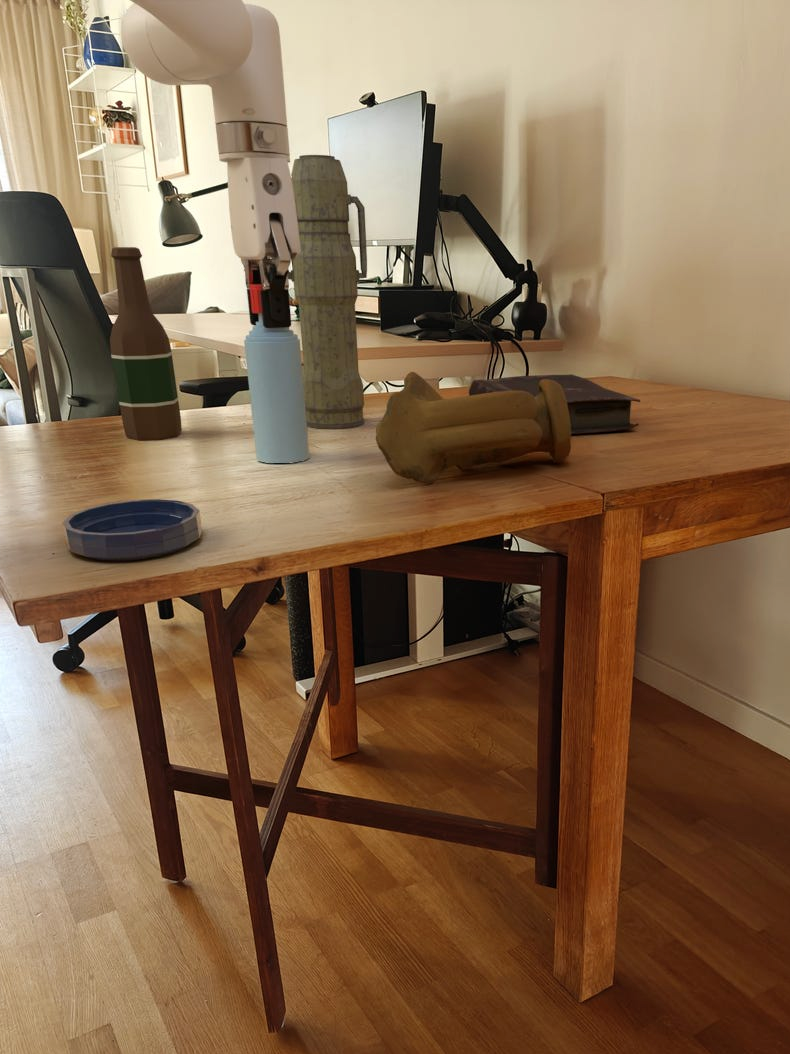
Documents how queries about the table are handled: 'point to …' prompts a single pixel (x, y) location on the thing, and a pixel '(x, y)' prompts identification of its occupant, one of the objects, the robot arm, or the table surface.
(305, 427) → the bottle
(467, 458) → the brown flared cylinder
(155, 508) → the dish
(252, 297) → the cap
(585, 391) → the diary
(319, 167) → the thermos
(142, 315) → the beer bottle
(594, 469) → the table surface
